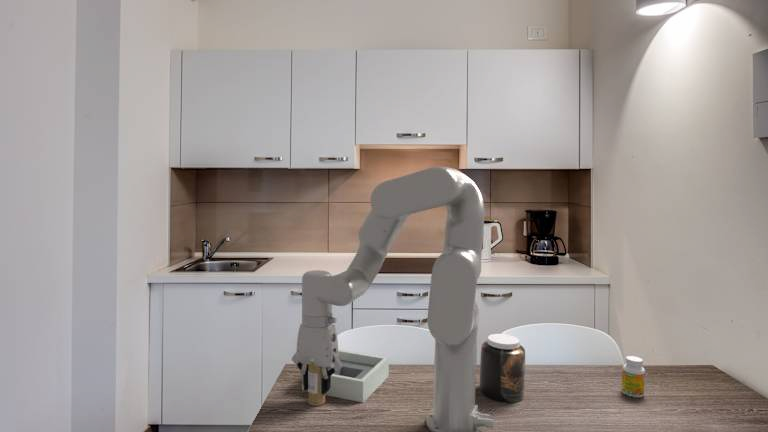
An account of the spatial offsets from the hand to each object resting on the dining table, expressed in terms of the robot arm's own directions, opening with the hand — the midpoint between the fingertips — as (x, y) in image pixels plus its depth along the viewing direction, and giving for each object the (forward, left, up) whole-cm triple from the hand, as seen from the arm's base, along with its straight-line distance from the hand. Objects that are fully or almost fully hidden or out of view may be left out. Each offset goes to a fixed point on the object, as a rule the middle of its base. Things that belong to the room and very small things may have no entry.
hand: (316, 389), depth 120 cm
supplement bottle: (-76, -38, -4) cm, 85 cm away
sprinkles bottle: (0, 0, -4) cm, 4 cm away
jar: (-43, -24, -4) cm, 50 cm away
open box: (-2, -13, -3) cm, 14 cm away
